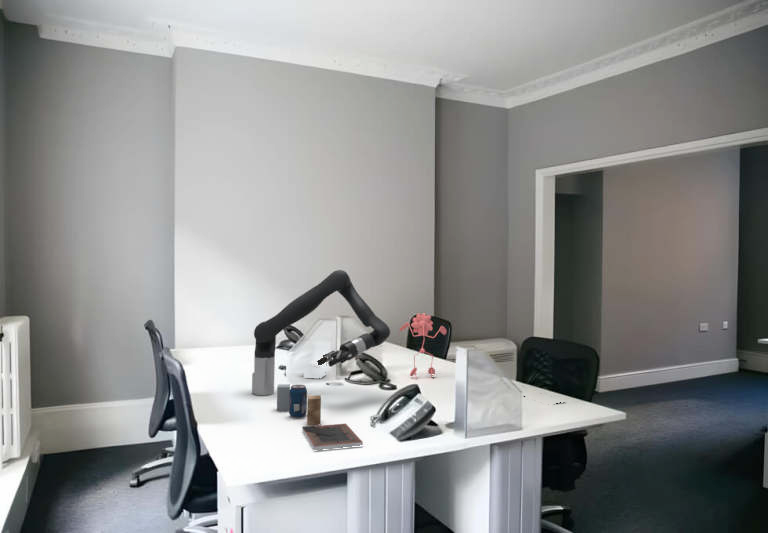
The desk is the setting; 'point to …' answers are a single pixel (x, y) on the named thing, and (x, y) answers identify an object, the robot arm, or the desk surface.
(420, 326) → the pink toy figure
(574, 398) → the desk surface
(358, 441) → the picture frame
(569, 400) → the desk surface
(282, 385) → the slate block
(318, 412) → the walnut block
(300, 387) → the soda can
